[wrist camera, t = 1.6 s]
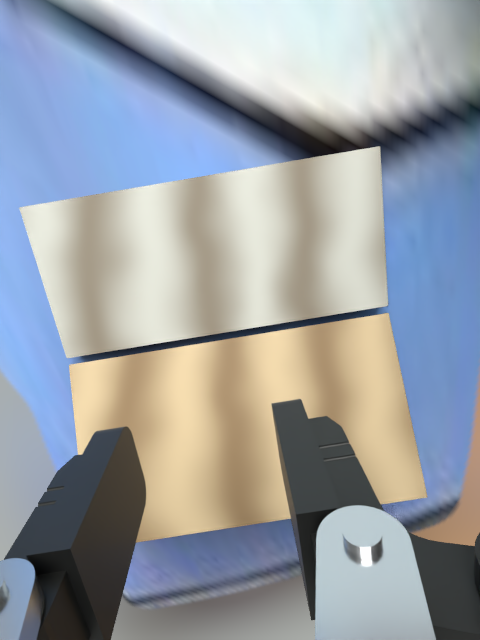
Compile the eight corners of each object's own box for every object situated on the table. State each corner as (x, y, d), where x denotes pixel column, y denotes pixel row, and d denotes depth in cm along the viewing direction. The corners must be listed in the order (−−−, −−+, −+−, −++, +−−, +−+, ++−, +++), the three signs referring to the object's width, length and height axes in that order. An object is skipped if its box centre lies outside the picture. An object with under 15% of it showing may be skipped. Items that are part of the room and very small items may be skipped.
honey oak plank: (379, 316, 29) (388, 312, 27) (414, 488, 27) (427, 497, 25) (81, 365, 29) (69, 364, 27) (99, 537, 28) (87, 549, 26)
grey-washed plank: (368, 149, 26) (380, 146, 24) (377, 298, 29) (388, 305, 27) (34, 206, 26) (19, 207, 24) (77, 347, 29) (66, 358, 27)
